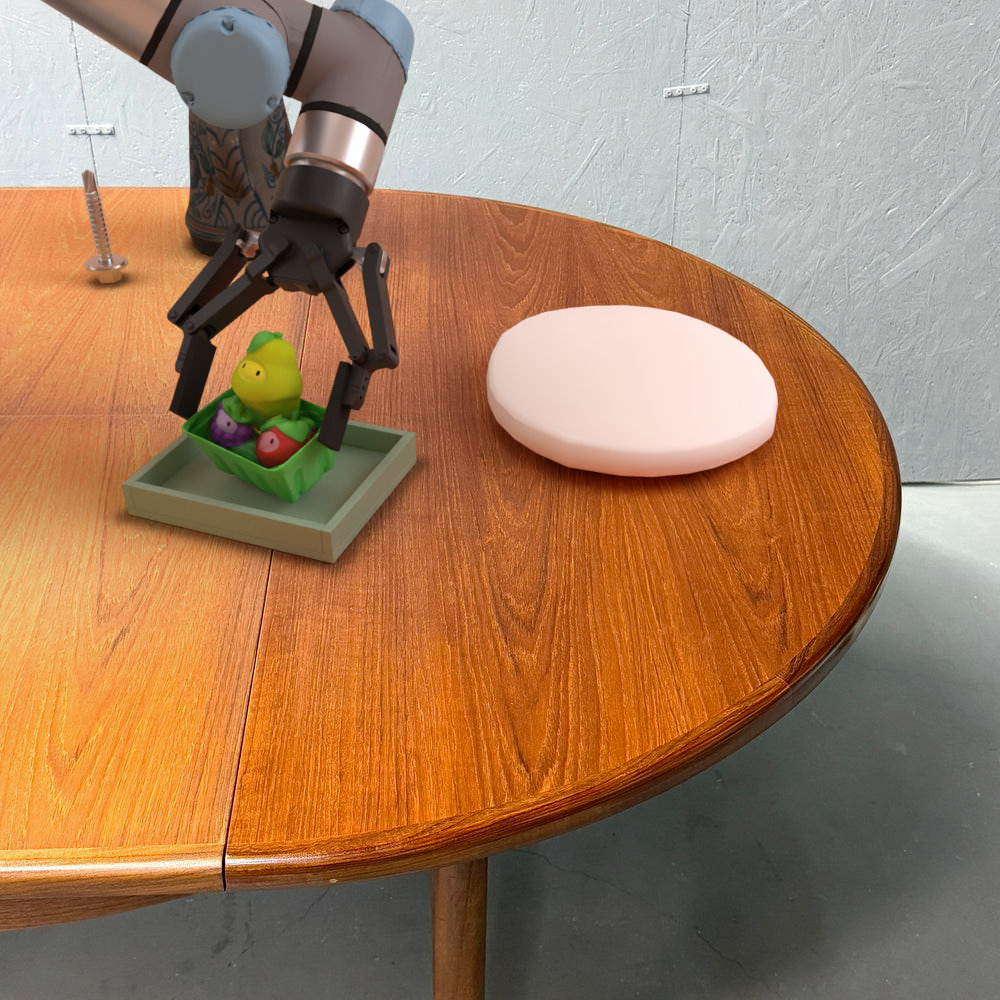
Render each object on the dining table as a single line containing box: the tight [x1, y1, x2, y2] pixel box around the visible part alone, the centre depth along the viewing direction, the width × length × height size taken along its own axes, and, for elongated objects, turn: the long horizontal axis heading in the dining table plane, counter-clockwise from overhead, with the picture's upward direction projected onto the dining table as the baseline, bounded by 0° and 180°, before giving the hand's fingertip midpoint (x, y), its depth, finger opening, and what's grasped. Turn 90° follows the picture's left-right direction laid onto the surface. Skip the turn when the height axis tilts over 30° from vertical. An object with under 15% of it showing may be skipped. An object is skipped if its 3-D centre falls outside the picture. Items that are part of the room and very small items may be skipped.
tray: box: [121, 419, 417, 565], centre depth 90 cm, size 19×16×3 cm
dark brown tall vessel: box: [184, 95, 293, 262], centre depth 130 cm, size 16×19×25 cm
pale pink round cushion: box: [485, 304, 779, 478], centre depth 100 cm, size 28×6×27 cm
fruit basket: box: [181, 330, 335, 504], centre depth 85 cm, size 11×9×11 cm
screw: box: [81, 169, 129, 284], centre depth 123 cm, size 13×5×5 cm
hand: (253, 431), depth 85 cm, fingers closed on fruit basket, 12 cm apart
